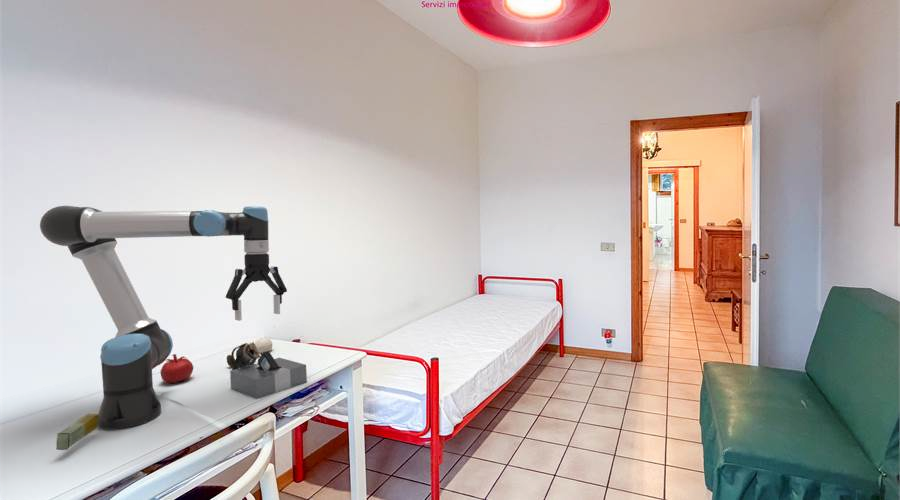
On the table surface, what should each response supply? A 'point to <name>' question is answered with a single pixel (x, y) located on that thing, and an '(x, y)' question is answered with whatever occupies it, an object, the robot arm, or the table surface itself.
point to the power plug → (244, 361)
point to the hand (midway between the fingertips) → (258, 316)
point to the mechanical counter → (243, 352)
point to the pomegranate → (176, 369)
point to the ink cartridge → (267, 362)
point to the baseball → (263, 345)
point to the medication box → (76, 431)
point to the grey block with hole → (268, 378)
